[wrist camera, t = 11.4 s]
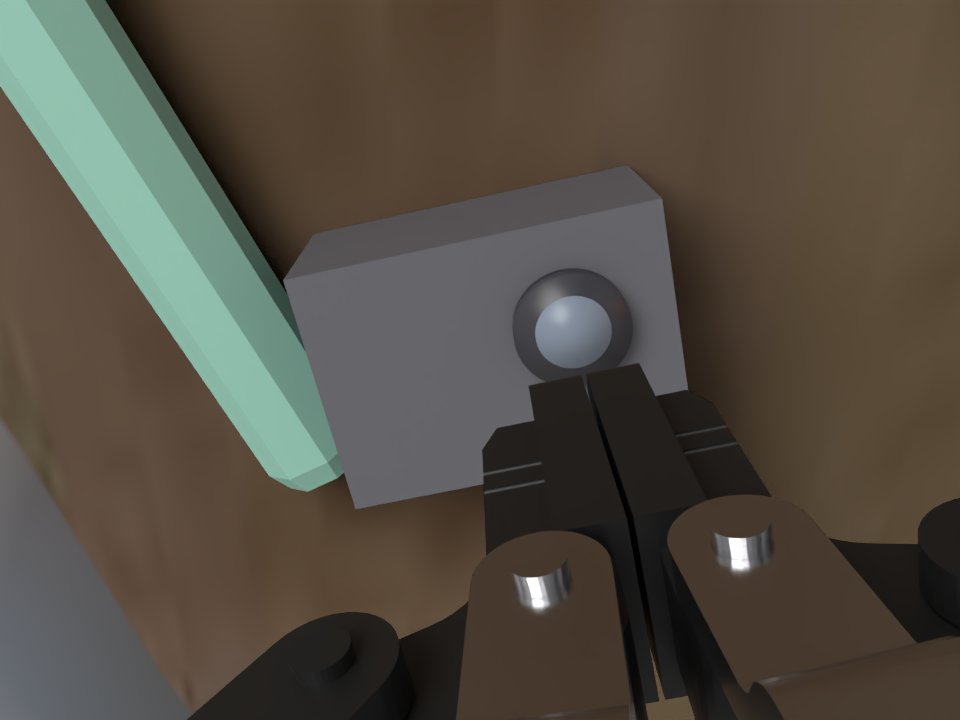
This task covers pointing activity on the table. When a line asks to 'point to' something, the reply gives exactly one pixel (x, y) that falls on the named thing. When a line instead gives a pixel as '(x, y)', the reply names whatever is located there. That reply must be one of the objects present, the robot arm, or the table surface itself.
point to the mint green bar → (168, 224)
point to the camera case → (479, 321)
